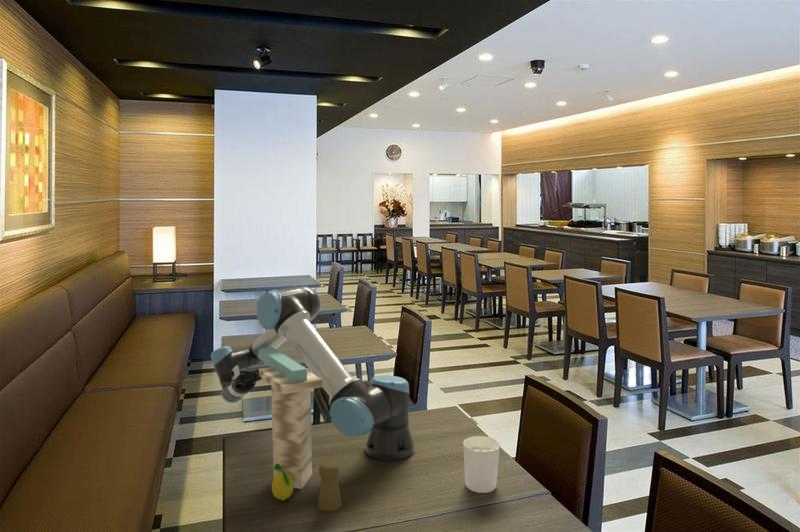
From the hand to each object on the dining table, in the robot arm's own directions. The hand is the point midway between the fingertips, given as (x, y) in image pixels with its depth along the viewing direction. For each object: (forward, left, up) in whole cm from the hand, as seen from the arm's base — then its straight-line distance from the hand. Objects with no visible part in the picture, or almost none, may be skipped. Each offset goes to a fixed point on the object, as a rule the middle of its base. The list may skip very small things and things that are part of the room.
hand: (259, 366), depth 175 cm
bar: (-13, +13, +4) cm, 19 cm away
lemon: (-19, +28, -26) cm, 43 cm away
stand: (-17, +17, -26) cm, 36 cm away
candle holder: (-69, +10, -26) cm, 74 cm away
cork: (-32, +28, -26) cm, 50 cm away
